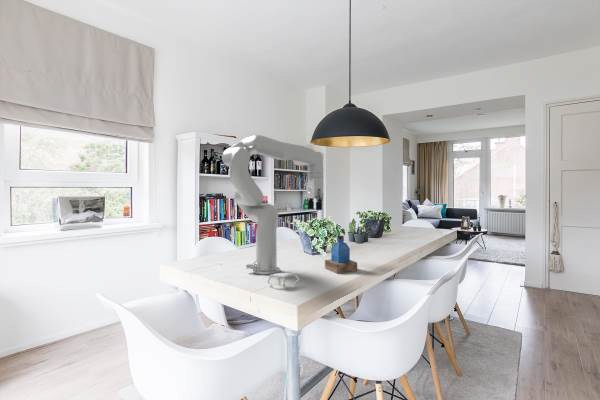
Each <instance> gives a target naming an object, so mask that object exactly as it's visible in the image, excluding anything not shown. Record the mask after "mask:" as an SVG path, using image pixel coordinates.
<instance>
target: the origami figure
mask: <svg viewBox="0 0 600 400" xmlns="http://www.w3.org/2000/svg"><path fill="white" fill-rule="evenodd" d="M291 276H292V277H293V276H294V277H295V278H296V280H295V282H294V283H293V285H294V286H295V287H296V286H297V285H296V283H297V282H299V281H300V280H301V279H300V278H299V276H298V275H297V274H296V273H294V272H278V273H275V274H269V276H268V279H267V283H268V285H269V284H270V287H273V284H272V283H271V282H270V280H271V279H272V278H277V281H278V286H280V285H281V284H282V286H283V287H282V290H285V289H286V283H285V282H286V280H285V279H286V278H287V277H291ZM281 278H282V282H281Z"/></svg>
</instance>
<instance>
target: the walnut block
mask: <svg viewBox="0 0 600 400" xmlns="http://www.w3.org/2000/svg"><path fill="white" fill-rule="evenodd" d="M324 269H326V270H328V271H330V272H333V273H335V274H345V273H351V272H353V273H354V272H357V271H358V262H357V261H355V260H351V259H350V262H345V263H337V262H334V261H331V259H330V258H329V259H325V260H324Z"/></svg>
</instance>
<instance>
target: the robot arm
mask: <svg viewBox="0 0 600 400" xmlns="http://www.w3.org/2000/svg"><path fill="white" fill-rule="evenodd" d="M253 155H254V156H255V155H260V156H263V157H268V158H271V159H274V160H278V161H292V162H293V164H294V165H296V166H299V167H305V166H307V181H306V182H307V183H306V198H307V209H308V210H313V209H315V210H316V211H322V210H323V199H324V192H323V153H322V152H321V151H315V150H314V149H313V148H310V147H306V146H304V145H300V144H294V143H290V142H289V143H288V142H283V141H280V140H276V139H273V138H269V137H267V136H264V135H260V134H254V135H251V136H247V137H245V138H242V139H241V140H240V141H238V142H236V143H235V144H233V145H232V146H230V147H228V148H226V149H224V151H223V152H222V155H221V160H222V163H223V164H224V165H225V166H227V167H229V179H230V181H231V183H232V185H233V186H234V188H235V190H234V200H235V203H236V204H237V206H238V207H239V208H240V210H241V211H242V212H243V213H244V215H245V216H246V217H247V218H248V220H250V221H251V222H253V223H257V226H256V231H255V261H253V262H252V263H247V264H245V269H246V270H252V273H254V274H256V275H272V274H277V273H280V272H281V267H279V266H277V263H278V260H277V251H278V249H277V248H278V247H277V226H278V221H279V210H278V209H277V207H276V206H275V205H273V204H271V203H266V202H263V201H264V194H263V191H262V189H261V188H260V187H259V186H258V184H257V183H256V182H255V179H253V178H252V176H251V174H250V172H249V171H250V170H249V164H250V160H251V156H253ZM314 200H315V201H316V202H315V201H314Z"/></svg>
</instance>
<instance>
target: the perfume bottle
mask: <svg viewBox="0 0 600 400" xmlns="http://www.w3.org/2000/svg"><path fill="white" fill-rule="evenodd" d="M336 236H337V238H336V242H334V243H333V245H332V246H331V261H334V262H337V263H345V262H350V260H351V258H350V256H351V254H350V251H351V250H350V249H351V248H350V247H349V245H348V244H347V242H344V241H345V238H344V237H345V236H344V235H336Z"/></svg>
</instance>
